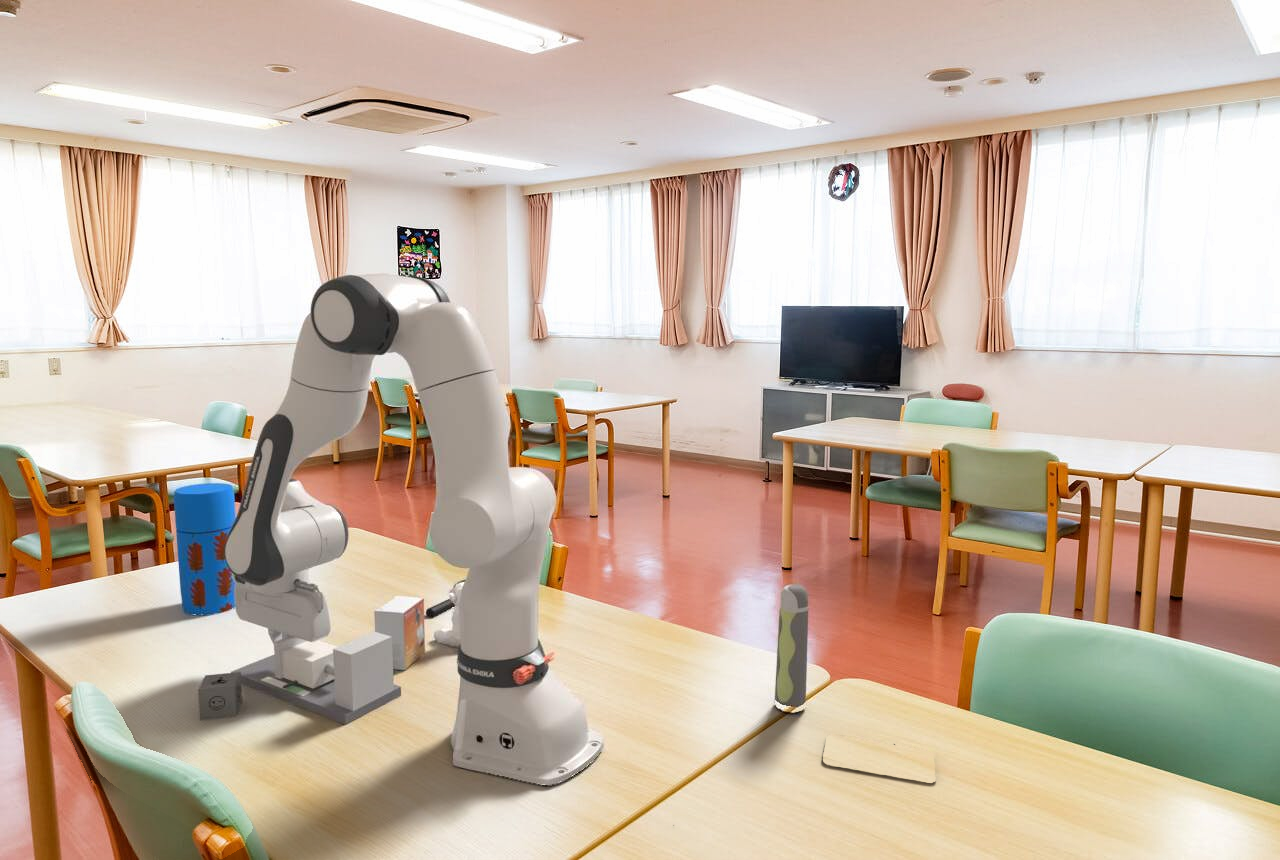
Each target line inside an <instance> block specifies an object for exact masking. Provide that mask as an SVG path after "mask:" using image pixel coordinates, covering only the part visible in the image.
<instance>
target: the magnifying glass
mask: <svg viewBox="0 0 1280 860" xmlns="http://www.w3.org/2000/svg"><path fill="white" fill-rule="evenodd" d="M465 580H466V578H465V579H463V580H459V581H457V582H456V583H454V585H453V588H454V587H455V585H456V584H459V583H462V582H465ZM453 588H452V589H453ZM454 606H456V605H454V603H453V602H452V601H451V600H450V598H448V599H446V600H444V601H442V602H440V603H437V604H435V605H433V606H431V607H428V608H427V609H426V611H425V616H426V617H427V618H431V619H433V618H435V617H437V616H440V615H442V614H444V613H445V611H446V612H448V611H450V610H452V609H453V608H452V607H454ZM451 608H452V609H451ZM449 609H450V610H449ZM447 610H448V611H447ZM443 612H444V613H443ZM441 613H442V614H441ZM439 614H440V615H439Z"/></svg>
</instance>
